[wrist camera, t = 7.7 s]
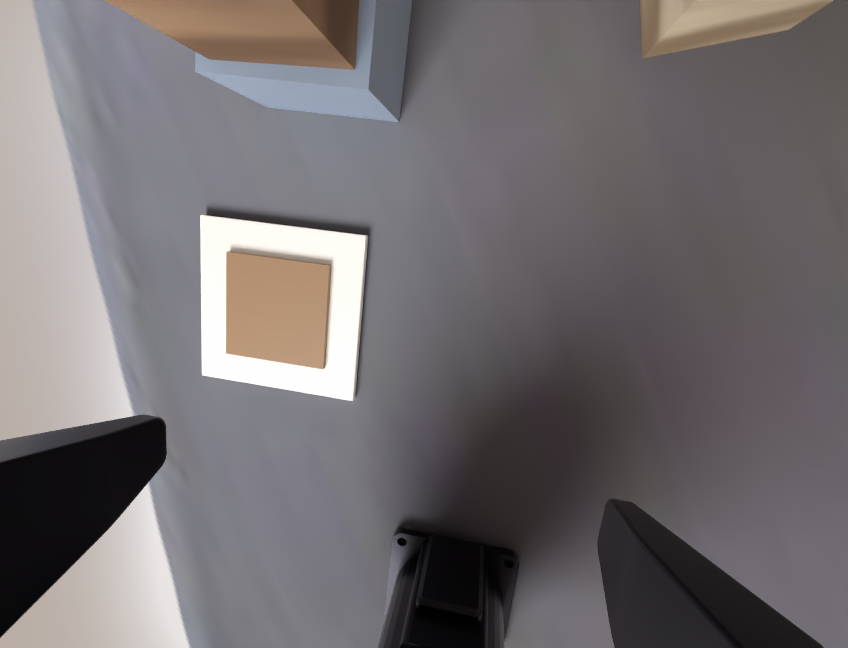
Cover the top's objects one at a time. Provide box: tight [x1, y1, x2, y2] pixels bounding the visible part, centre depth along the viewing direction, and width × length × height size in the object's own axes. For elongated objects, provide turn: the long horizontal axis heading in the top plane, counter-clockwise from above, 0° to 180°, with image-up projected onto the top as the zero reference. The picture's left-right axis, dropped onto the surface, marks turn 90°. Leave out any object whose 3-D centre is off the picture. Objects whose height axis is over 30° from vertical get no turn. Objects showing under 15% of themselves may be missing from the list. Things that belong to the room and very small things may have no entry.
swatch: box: [200, 215, 368, 401], centre depth 21 cm, size 8×8×1 cm
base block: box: [195, 0, 412, 122], centre depth 16 cm, size 6×6×5 cm
